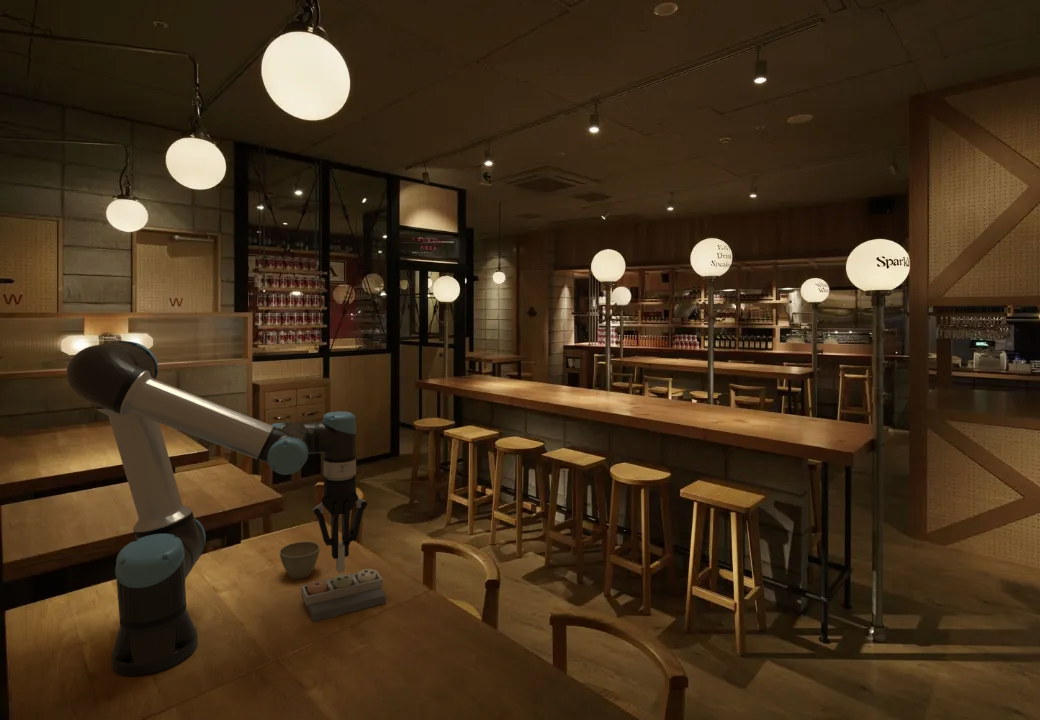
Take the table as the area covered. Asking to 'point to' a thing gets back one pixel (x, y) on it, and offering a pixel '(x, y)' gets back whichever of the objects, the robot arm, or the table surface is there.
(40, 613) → the table surface
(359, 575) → the cream button
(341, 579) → the sage button
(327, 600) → the panel
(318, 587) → the terracotta button
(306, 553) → the grey bowl
